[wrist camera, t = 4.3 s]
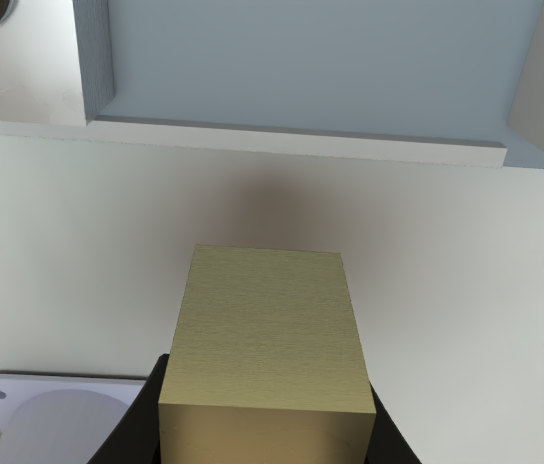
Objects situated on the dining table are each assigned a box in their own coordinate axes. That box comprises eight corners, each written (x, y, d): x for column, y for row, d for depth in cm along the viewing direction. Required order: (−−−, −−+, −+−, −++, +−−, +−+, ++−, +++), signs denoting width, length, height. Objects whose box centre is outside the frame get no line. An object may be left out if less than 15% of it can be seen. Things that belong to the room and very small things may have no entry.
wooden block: (312, 418, 16) (329, 598, 11) (195, 412, 16) (167, 593, 11) (339, 253, 13) (376, 413, 9) (196, 244, 13) (158, 402, 8)
